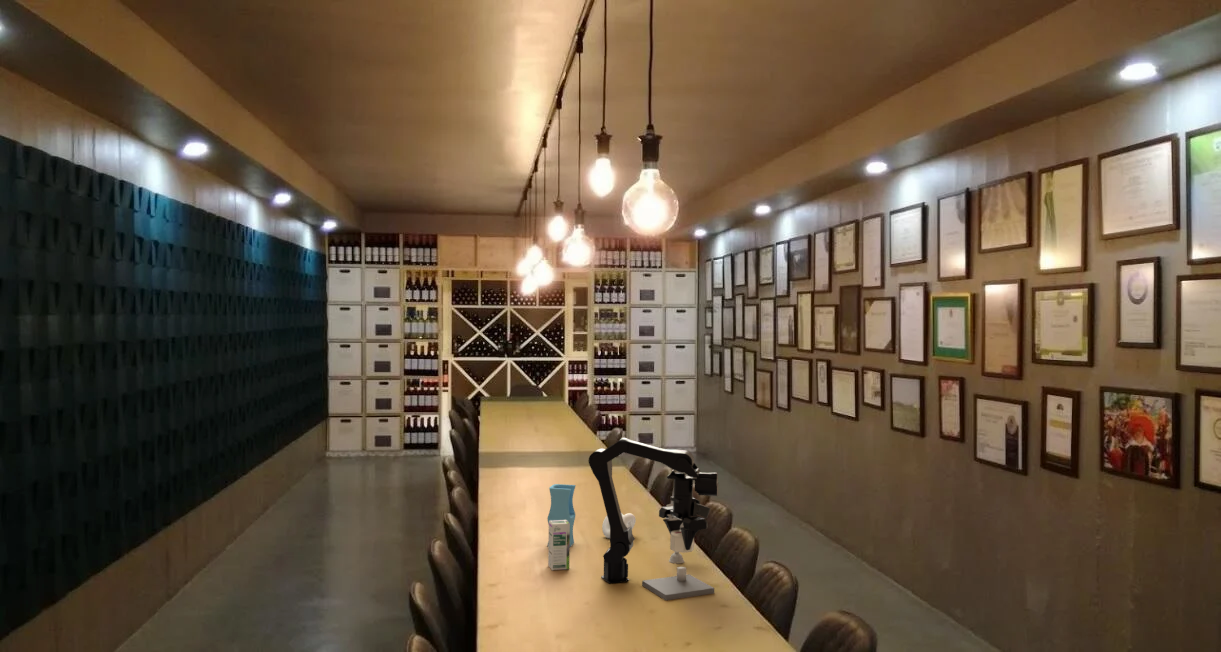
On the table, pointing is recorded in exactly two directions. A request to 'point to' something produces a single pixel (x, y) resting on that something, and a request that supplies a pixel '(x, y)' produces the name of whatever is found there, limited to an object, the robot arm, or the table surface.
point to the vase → (562, 505)
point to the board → (678, 586)
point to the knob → (678, 542)
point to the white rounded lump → (627, 519)
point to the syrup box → (559, 544)
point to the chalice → (676, 556)
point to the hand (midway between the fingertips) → (681, 547)
